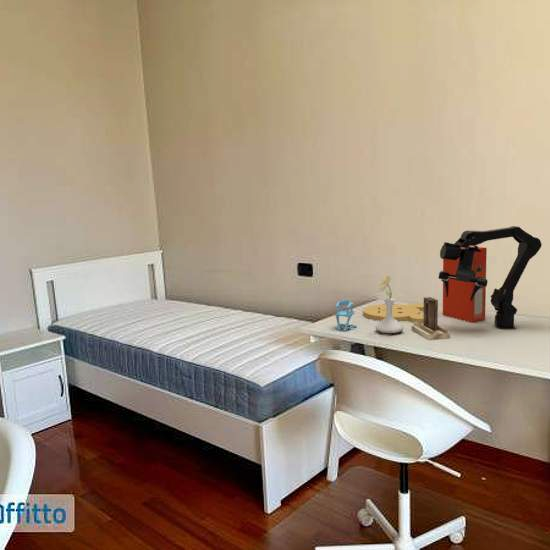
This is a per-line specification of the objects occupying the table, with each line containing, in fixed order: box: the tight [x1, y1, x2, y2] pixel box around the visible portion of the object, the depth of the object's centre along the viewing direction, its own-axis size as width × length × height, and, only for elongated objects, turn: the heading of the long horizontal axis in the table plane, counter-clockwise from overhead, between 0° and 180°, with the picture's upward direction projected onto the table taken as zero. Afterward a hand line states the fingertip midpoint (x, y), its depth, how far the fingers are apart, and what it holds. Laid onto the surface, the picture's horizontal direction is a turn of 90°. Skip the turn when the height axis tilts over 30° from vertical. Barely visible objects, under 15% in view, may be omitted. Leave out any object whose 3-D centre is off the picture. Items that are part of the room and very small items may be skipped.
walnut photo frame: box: [422, 296, 439, 331], centre depth 211 cm, size 3×6×12 cm, turn 11°
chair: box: [334, 299, 357, 332], centre depth 224 cm, size 8×8×12 cm
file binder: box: [442, 246, 488, 324], centre depth 233 cm, size 8×17×32 cm, turn 27°
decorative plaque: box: [362, 302, 424, 325], centre depth 246 cm, size 31×3×30 cm
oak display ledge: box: [411, 322, 451, 341], centre depth 212 cm, size 9×15×3 cm, turn 11°
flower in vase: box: [375, 273, 404, 334], centre depth 215 cm, size 13×11×25 cm
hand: (458, 299), depth 216 cm, fingers open, 9 cm apart
